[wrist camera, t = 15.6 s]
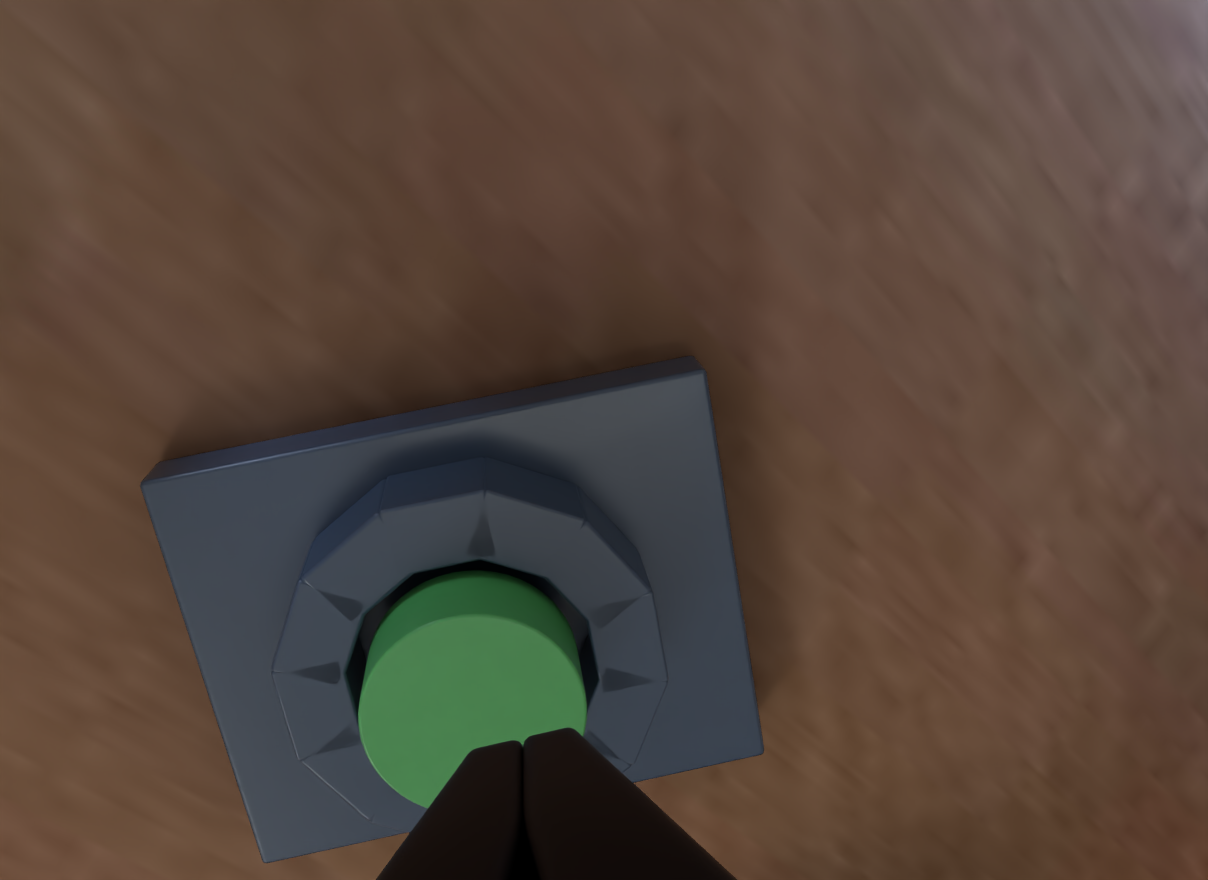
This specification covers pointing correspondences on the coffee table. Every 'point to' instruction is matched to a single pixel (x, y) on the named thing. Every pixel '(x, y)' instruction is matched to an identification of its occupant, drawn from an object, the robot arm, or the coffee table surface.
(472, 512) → the grey button base
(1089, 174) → the coffee table surface
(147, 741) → the coffee table surface
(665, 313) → the coffee table surface
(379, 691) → the button
